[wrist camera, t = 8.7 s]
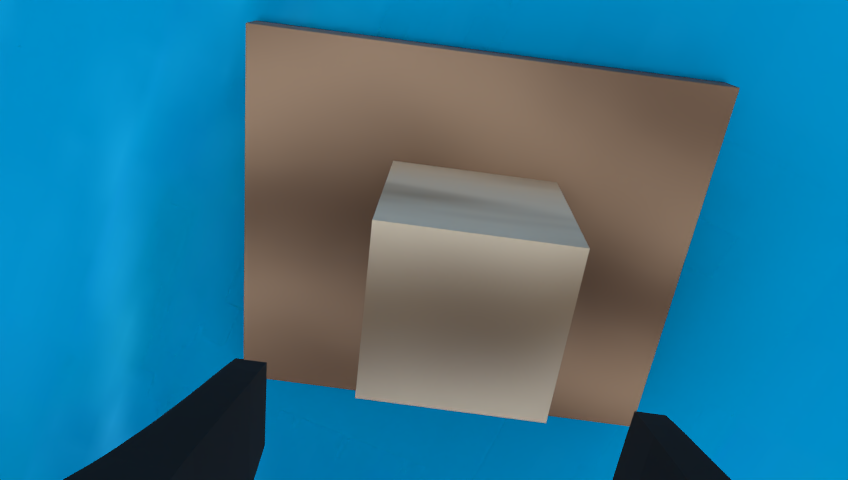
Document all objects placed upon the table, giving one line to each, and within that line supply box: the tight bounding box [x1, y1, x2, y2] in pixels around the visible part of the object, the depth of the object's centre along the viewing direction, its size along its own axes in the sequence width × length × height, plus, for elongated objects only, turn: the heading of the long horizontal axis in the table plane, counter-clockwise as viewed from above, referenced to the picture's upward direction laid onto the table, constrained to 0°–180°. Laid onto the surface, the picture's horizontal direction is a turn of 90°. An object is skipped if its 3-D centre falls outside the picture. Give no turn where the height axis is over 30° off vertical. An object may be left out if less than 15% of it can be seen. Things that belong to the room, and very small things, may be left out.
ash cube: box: [355, 161, 590, 423], centre depth 17 cm, size 5×5×5 cm
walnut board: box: [244, 21, 739, 426], centre depth 20 cm, size 12×14×1 cm
